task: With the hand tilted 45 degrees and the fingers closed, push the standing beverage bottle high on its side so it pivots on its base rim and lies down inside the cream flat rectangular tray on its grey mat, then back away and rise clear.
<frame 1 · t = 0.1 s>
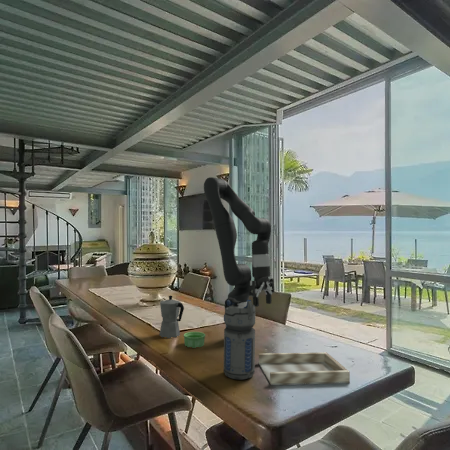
hand: (262, 305, 143), 17 cm above the table, tool pointing down, fingers open, 8 cm apart
coffeepot: (171, 336, 157), on the table
cream flat rectangular tray: (301, 372, 116), on the table
beverage bottle: (237, 374, 114), on the table
ramekin: (194, 345, 144), on the table
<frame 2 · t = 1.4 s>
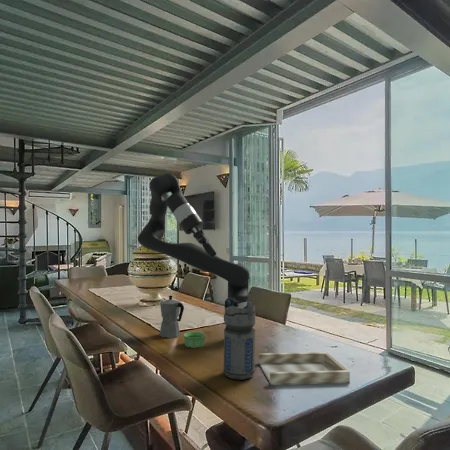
hand: (212, 254, 124), 39 cm above the table, tool tilted 40°, fingers open, 8 cm apart
nothing on the table moved.
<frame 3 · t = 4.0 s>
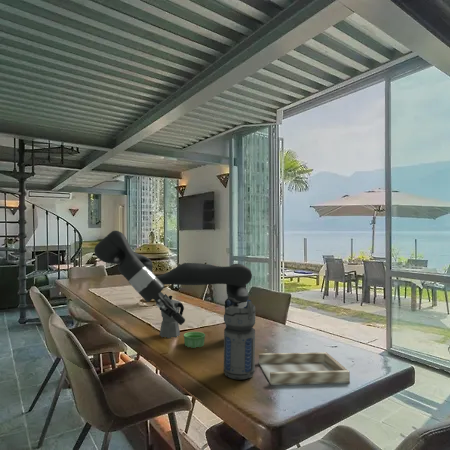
hand: (183, 322, 113), 17 cm above the table, tool tilted 45°, fingers closed
nothing on the table moved.
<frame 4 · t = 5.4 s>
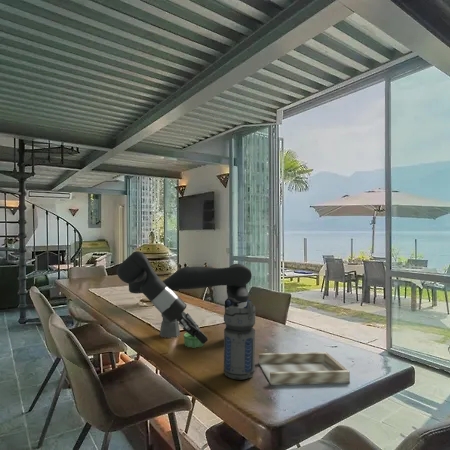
hand: (205, 341, 113), 11 cm above the table, tool tilted 45°, fingers closed
nothing on the table moved.
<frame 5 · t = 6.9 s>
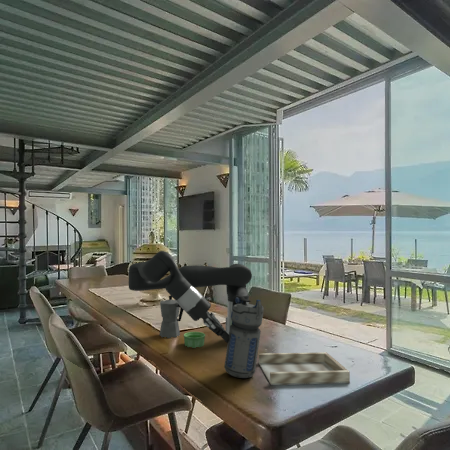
hand: (229, 340, 114), 11 cm above the table, tool tilted 45°, fingers closed
beverage bottle: (237, 372, 114), on the table, touching gripper
everything else where it was.
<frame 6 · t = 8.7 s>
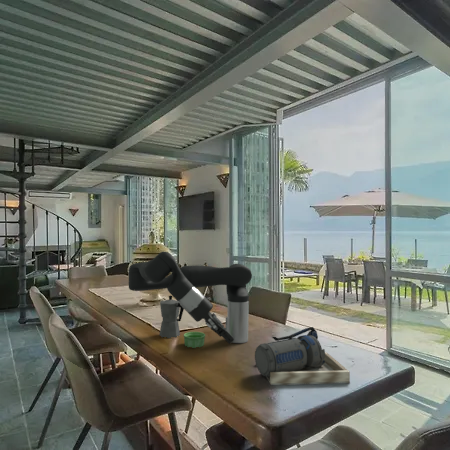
hand: (231, 341, 114), 11 cm above the table, tool tilted 45°, fingers closed
beverage bottle: (260, 358, 111), point 6 cm above the table, touching cream flat rectangular tray
everything else where it was.
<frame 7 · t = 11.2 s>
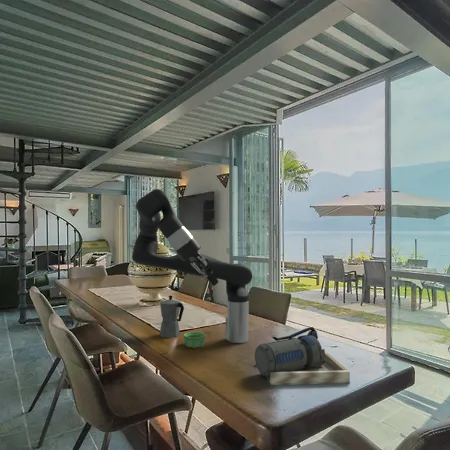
hand: (215, 284, 115), 29 cm above the table, tool tilted 40°, fingers closed
nothing on the table moved.
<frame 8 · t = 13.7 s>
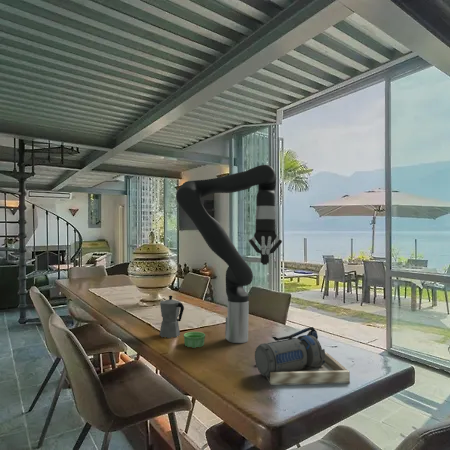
hand: (264, 264, 130), 35 cm above the table, tool pointing down, fingers closed
nothing on the table moved.
at the end: beverage bottle tilted 88°; beverage bottle inside the target area on the cream flat rectangular tray (3.6 cm from its centre), point 6.3 cm above the cream flat rectangular tray's base; beverage bottle touching cream flat rectangular tray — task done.
